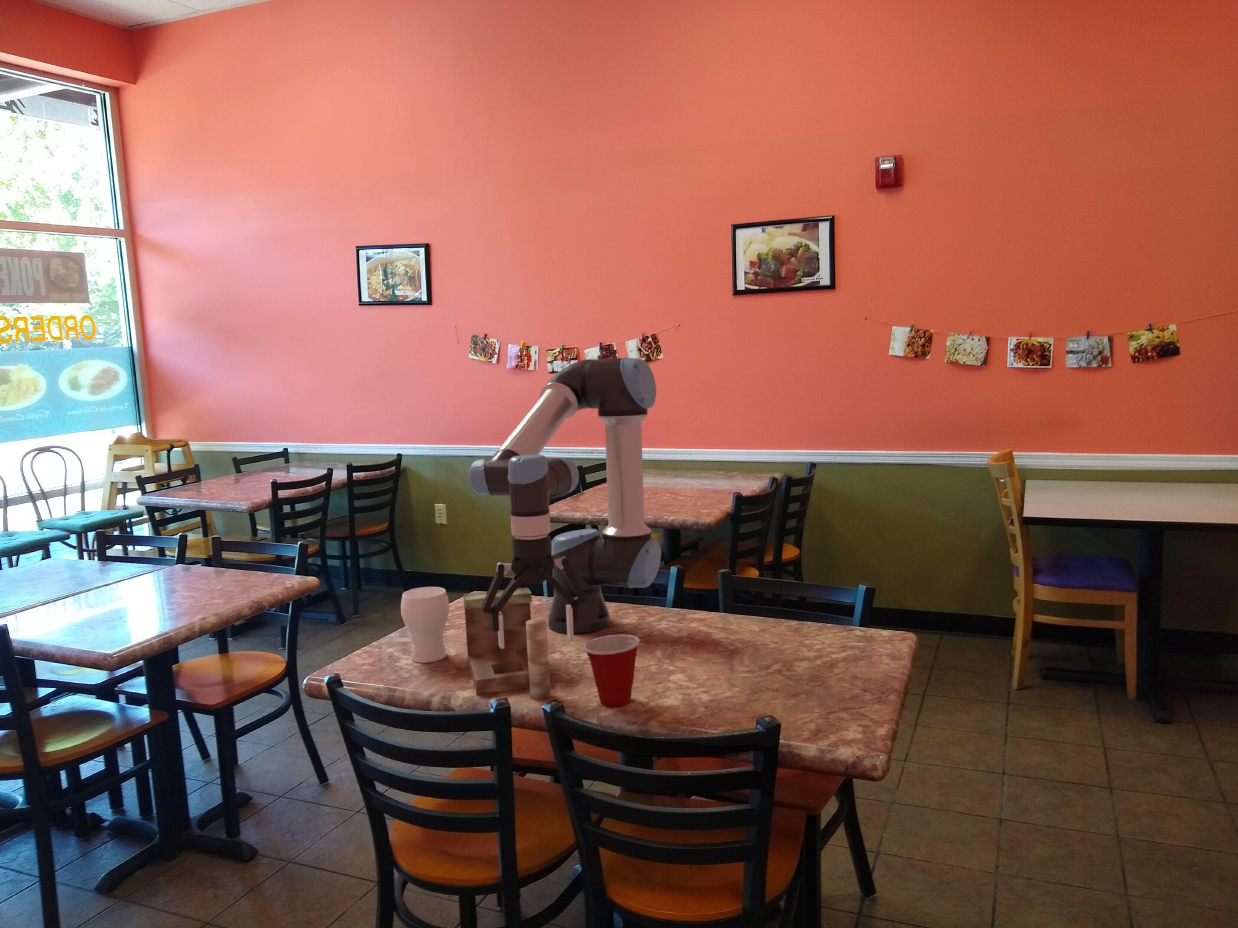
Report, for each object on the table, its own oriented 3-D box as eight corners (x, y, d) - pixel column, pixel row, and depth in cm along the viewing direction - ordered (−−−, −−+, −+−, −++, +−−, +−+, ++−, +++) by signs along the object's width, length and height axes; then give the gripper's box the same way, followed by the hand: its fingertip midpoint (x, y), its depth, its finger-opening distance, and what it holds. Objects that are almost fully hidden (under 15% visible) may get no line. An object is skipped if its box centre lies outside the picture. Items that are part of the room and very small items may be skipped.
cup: (441, 665, 201) (437, 599, 199) (396, 664, 203) (391, 598, 201) (459, 649, 211) (455, 586, 210) (416, 648, 214) (411, 585, 212)
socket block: (531, 657, 204) (527, 587, 202) (545, 685, 187) (541, 608, 185) (468, 665, 201) (463, 594, 199) (476, 694, 183) (471, 616, 181)
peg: (548, 690, 184) (544, 617, 182) (552, 697, 180) (548, 623, 178) (528, 693, 183) (524, 620, 181) (531, 700, 179) (527, 625, 177)
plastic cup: (597, 688, 184) (594, 630, 182) (649, 693, 180) (646, 633, 179) (577, 709, 174) (574, 648, 172) (632, 714, 170) (629, 652, 169)
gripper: (590, 527, 184) (594, 630, 186) (464, 537, 178) (470, 644, 180) (598, 533, 177) (602, 640, 179) (467, 544, 171) (473, 655, 173)
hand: (536, 642), depth 180 cm, fingers open, 13 cm apart
